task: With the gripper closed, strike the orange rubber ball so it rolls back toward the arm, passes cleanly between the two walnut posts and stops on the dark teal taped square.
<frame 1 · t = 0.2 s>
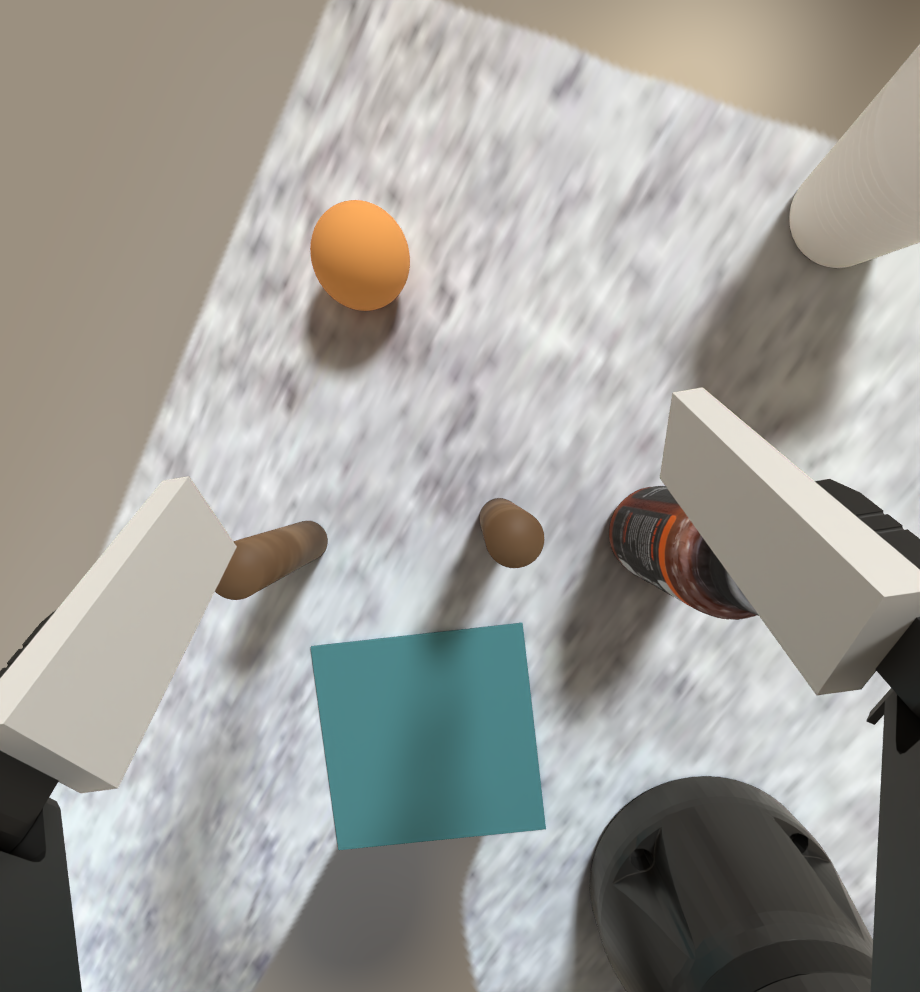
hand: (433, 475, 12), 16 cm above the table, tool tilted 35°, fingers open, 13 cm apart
ball: (361, 258, 25), on the table
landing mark: (429, 737, 29), on the table
supplement bottle: (650, 531, 28), on the table
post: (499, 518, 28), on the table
cup: (831, 222, 27), on the table
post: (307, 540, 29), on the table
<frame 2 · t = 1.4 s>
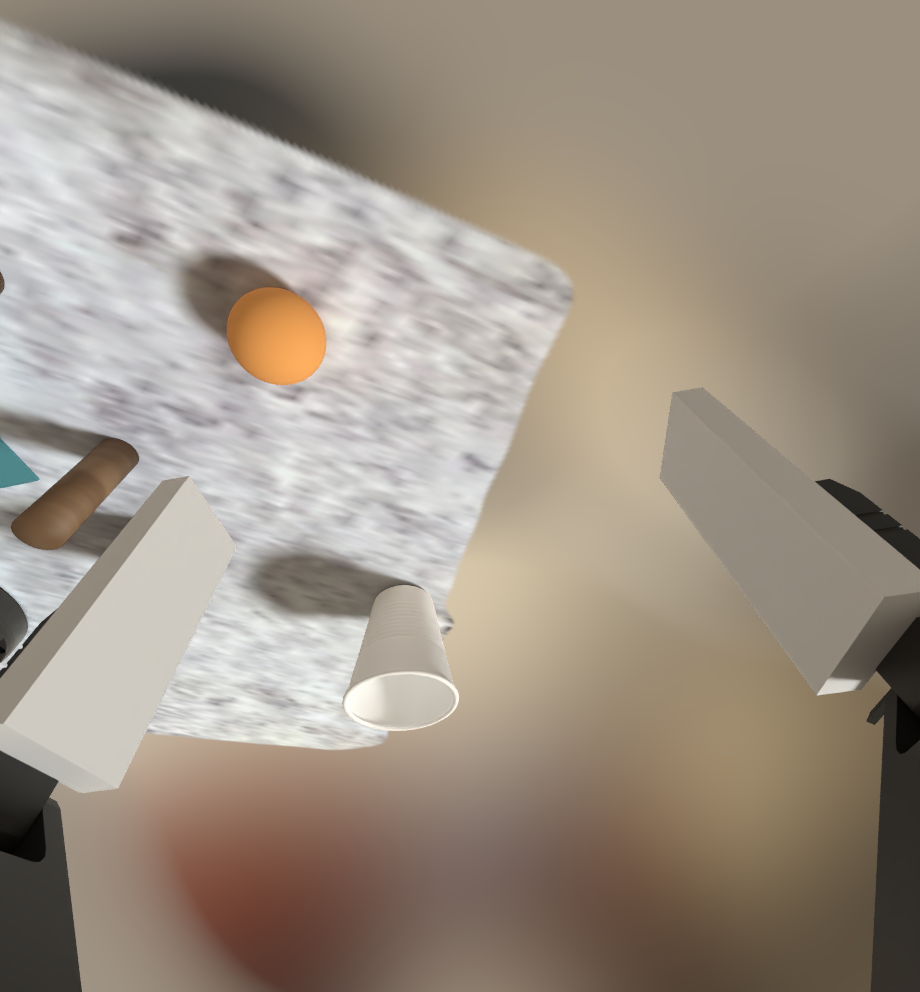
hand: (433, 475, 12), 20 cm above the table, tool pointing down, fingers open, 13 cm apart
ball: (278, 337, 26), on the table
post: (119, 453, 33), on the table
cup: (403, 600, 46), on the table
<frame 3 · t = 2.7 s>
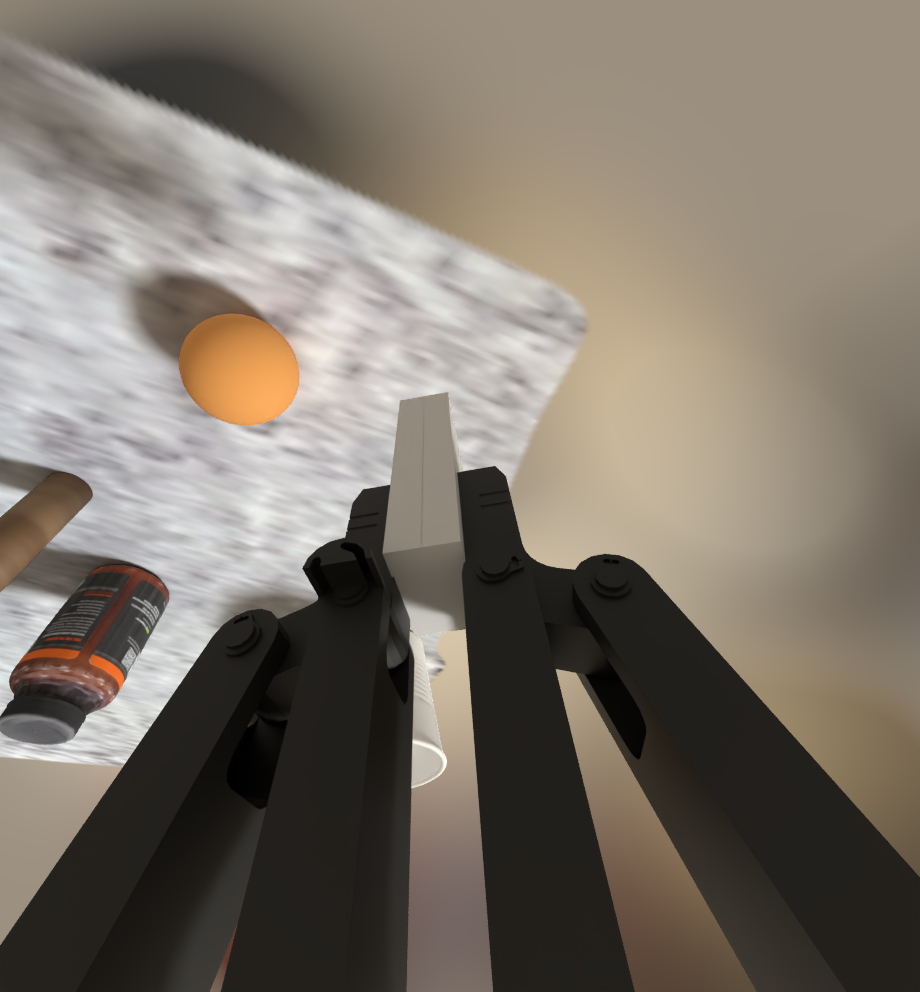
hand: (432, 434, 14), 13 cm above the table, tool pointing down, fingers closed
ball: (242, 371, 22), on the table
supplement bottle: (133, 584, 35), on the table
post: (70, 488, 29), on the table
cup: (391, 641, 43), on the table
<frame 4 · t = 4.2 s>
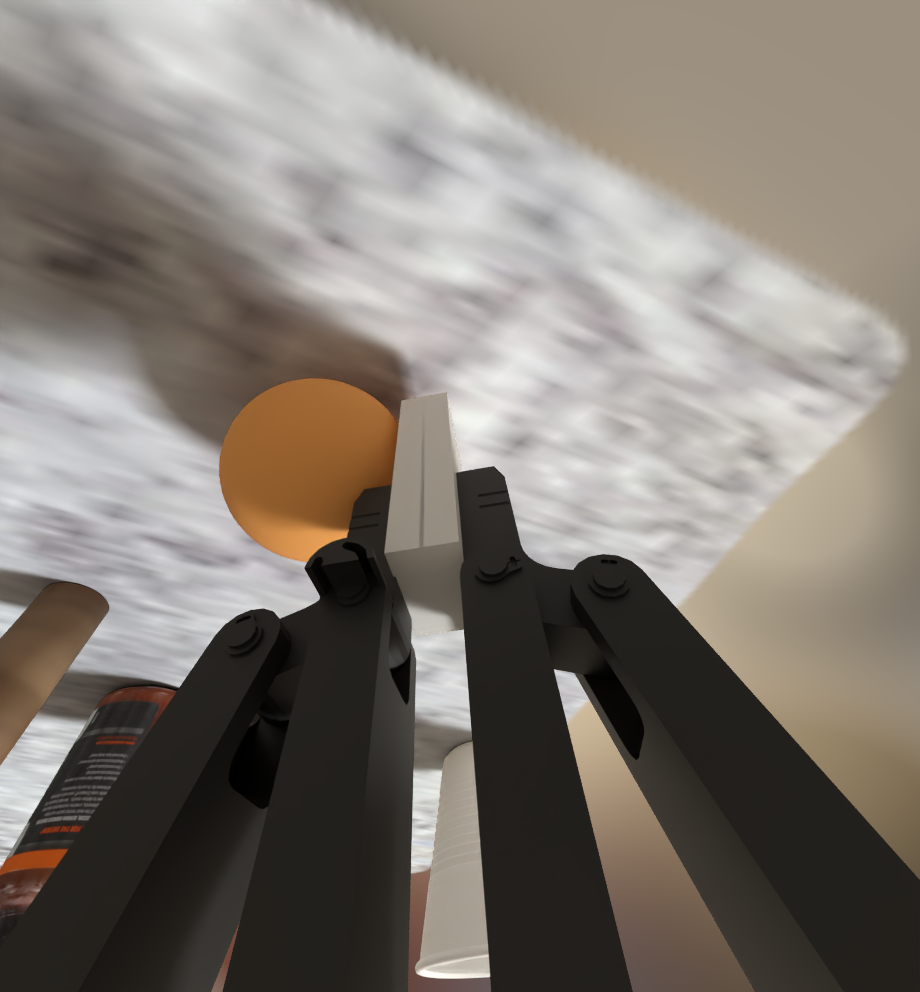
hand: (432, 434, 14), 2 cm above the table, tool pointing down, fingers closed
ball: (322, 471, 13), on the table, touching gripper
supplement bottle: (161, 703, 26), on the table
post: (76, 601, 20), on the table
cup: (483, 752, 33), on the table
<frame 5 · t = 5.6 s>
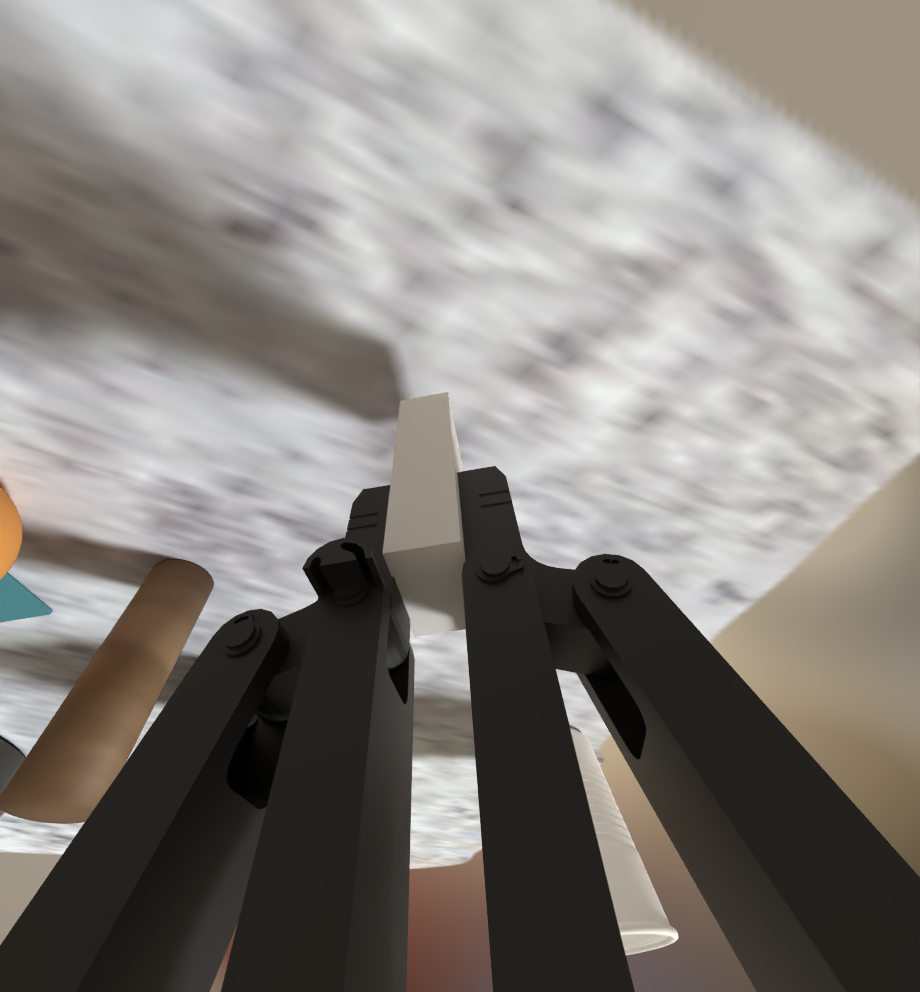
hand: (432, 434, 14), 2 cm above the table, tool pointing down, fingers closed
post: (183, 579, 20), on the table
cup: (546, 740, 33), on the table
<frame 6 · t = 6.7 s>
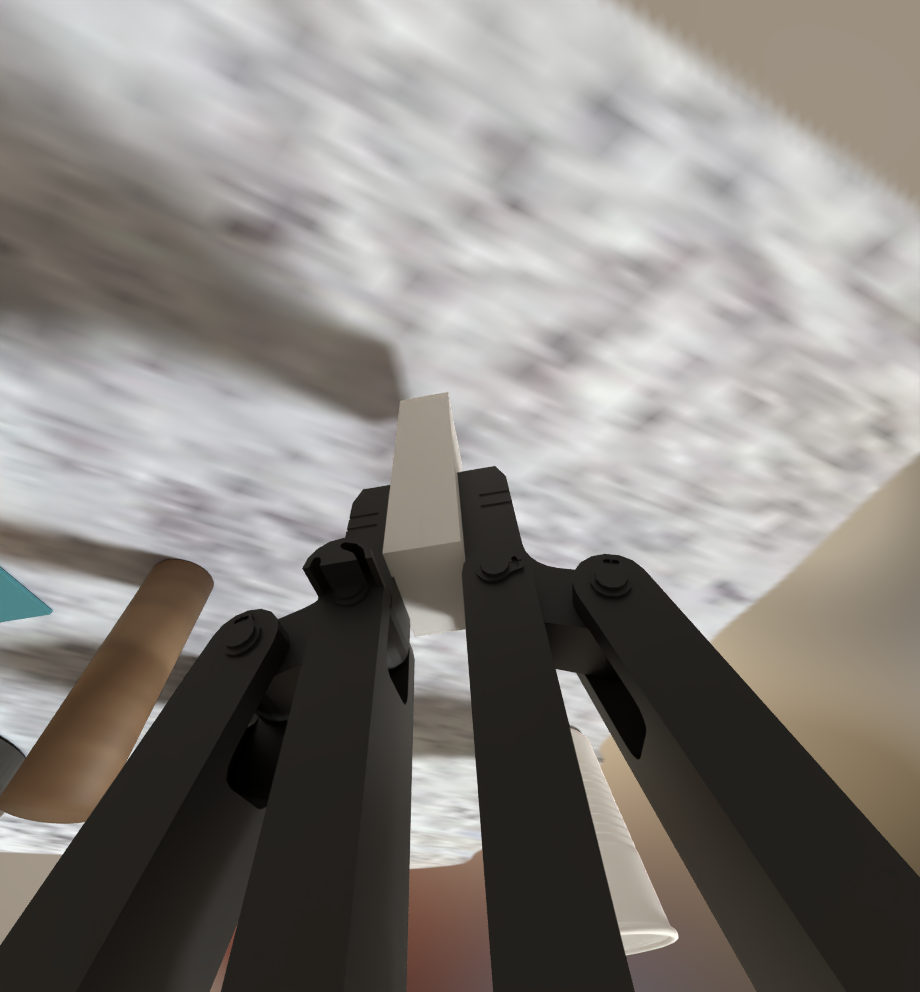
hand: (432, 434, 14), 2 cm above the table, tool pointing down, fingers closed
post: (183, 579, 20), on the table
cup: (546, 740, 33), on the table
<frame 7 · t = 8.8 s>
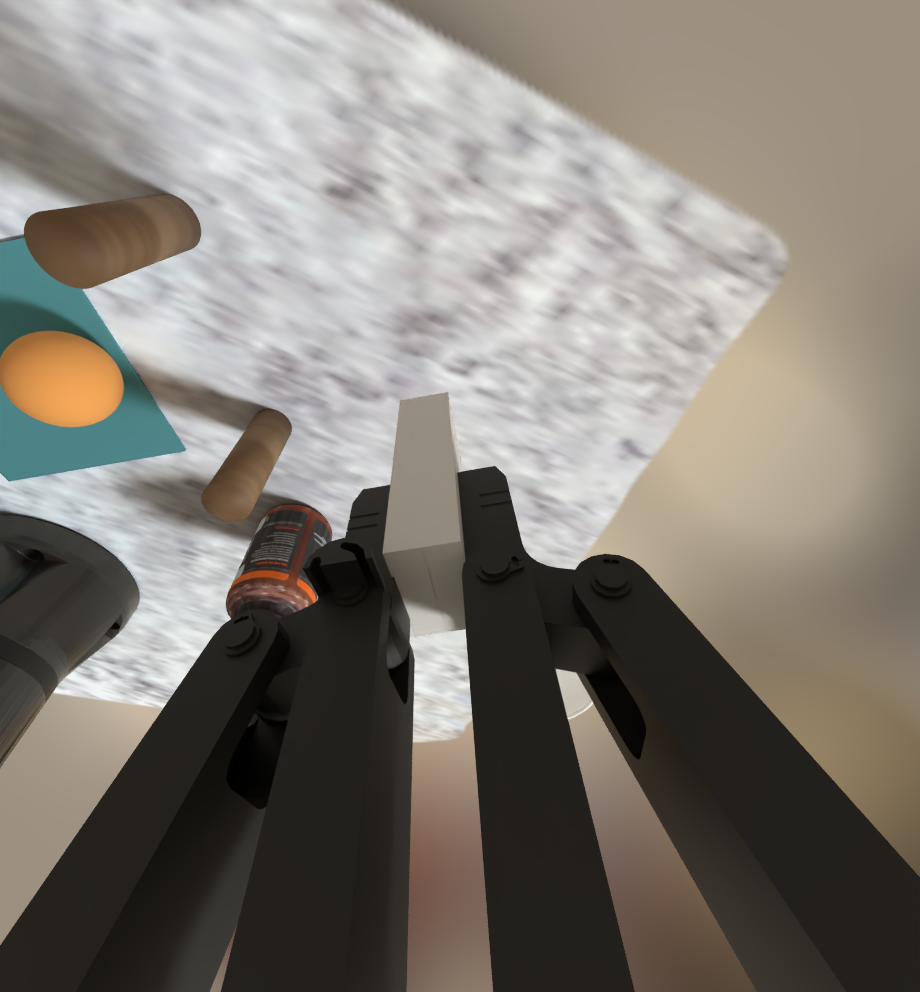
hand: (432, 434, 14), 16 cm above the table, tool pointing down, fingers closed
ball: (65, 380, 26), on the table
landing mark: (25, 376, 28), on the table
supplement bottle: (299, 526, 38), on the table
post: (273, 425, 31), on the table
cup: (517, 592, 45), on the table
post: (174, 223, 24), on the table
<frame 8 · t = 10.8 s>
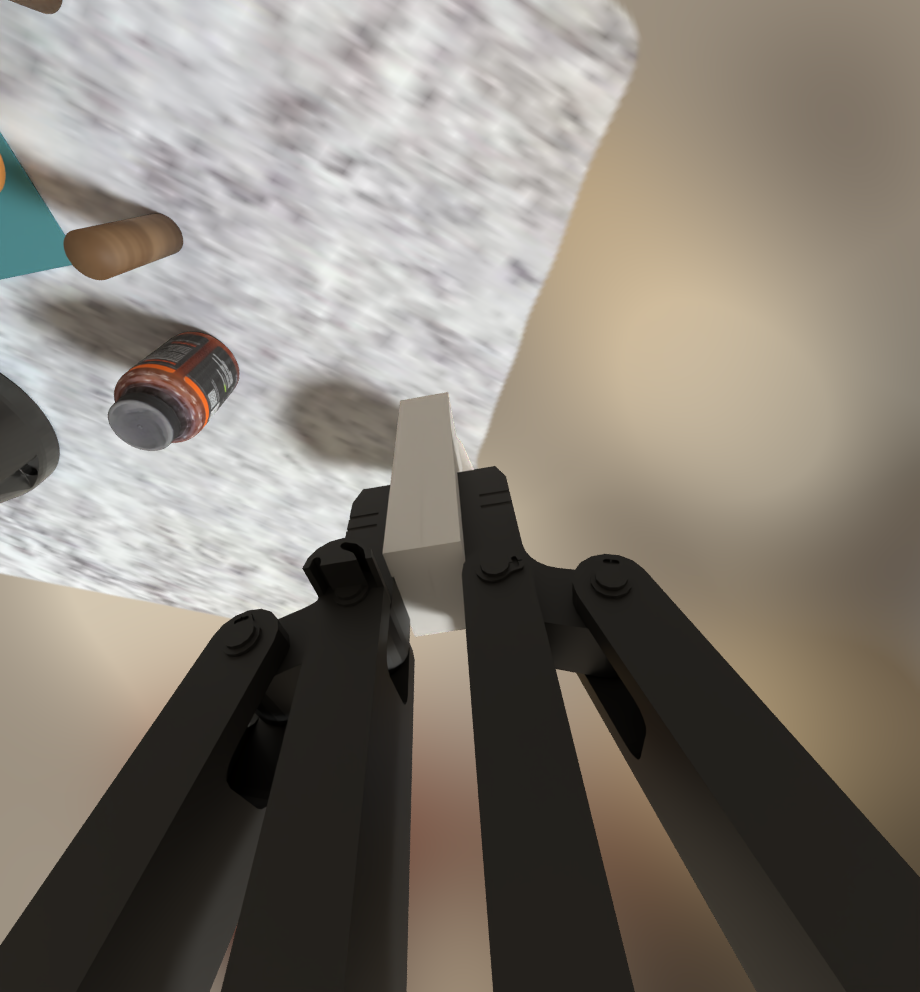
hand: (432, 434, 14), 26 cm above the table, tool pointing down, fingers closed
supplement bottle: (207, 363, 39), on the table
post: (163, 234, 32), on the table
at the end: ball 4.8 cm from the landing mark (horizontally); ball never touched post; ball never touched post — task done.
